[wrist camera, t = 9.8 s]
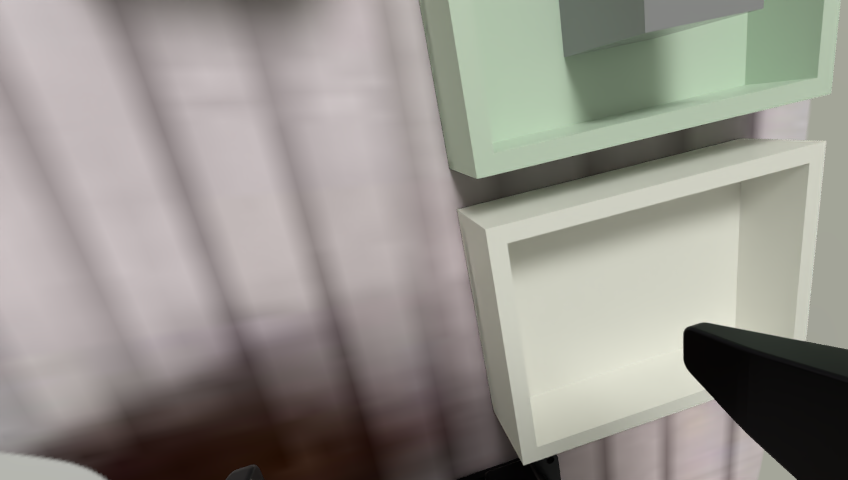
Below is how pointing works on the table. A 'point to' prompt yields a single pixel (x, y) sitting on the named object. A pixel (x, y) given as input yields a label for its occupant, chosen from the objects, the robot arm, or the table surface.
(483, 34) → the green bin
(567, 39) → the stone block
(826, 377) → the robot arm
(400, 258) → the table surface
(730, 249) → the cream bin
